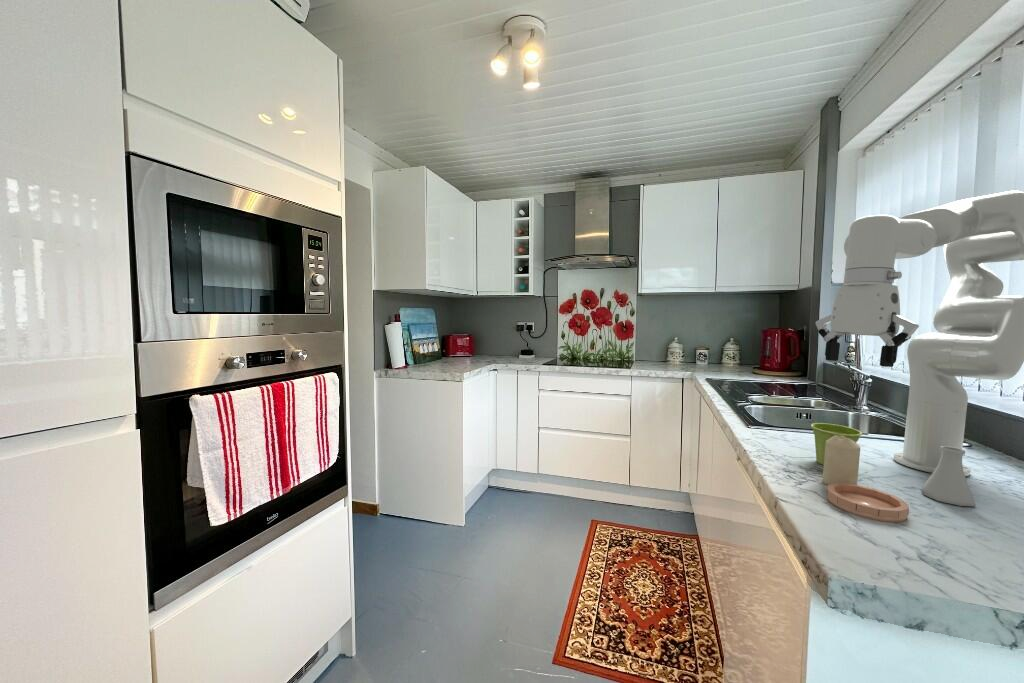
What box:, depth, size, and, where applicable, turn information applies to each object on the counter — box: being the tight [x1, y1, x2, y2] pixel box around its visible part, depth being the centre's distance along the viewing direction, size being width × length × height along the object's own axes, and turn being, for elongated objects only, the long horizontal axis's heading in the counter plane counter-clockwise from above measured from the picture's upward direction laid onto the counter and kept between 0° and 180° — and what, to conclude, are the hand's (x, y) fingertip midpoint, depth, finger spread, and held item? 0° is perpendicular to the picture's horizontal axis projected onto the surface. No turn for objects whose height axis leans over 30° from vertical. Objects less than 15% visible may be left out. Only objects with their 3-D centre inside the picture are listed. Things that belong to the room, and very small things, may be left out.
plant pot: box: [810, 422, 863, 466], centre depth 95 cm, size 9×9×9 cm
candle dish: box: [826, 483, 910, 523], centre depth 74 cm, size 11×11×2 cm
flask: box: [920, 446, 977, 507], centre depth 78 cm, size 7×7×10 cm
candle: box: [822, 435, 861, 486], centre depth 83 cm, size 6×6×10 cm
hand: (857, 363), depth 83 cm, fingers open, 9 cm apart
